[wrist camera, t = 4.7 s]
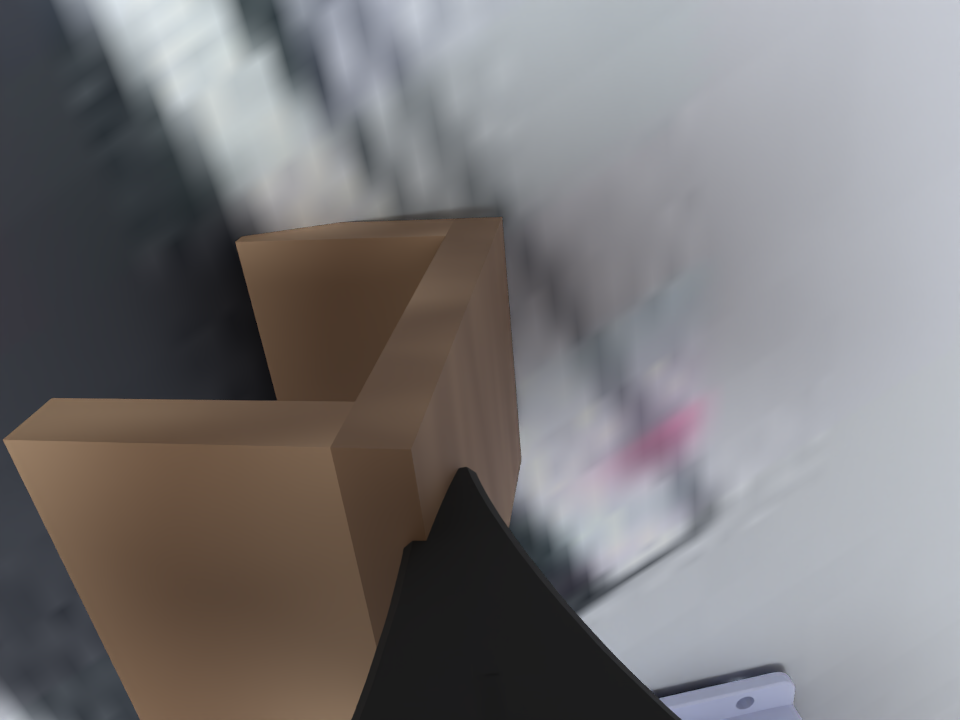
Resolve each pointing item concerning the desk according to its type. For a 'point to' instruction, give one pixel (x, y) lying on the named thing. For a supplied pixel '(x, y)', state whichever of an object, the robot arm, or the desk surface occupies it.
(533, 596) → the robot arm
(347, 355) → the open wooden box
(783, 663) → the desk surface
